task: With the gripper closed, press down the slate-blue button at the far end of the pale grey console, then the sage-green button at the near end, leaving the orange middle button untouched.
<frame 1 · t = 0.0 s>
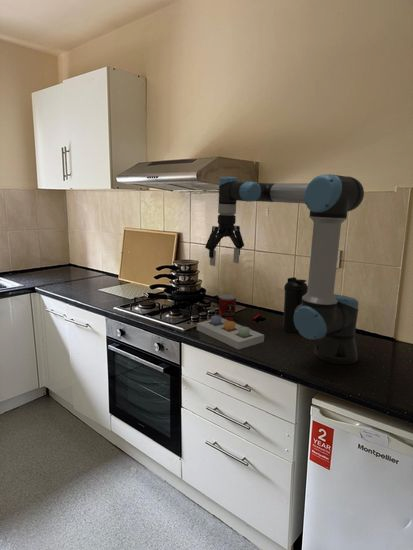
hand: (224, 264, 168), 28 cm above the worktop, fingers open, 13 cm apart
canned food: (226, 319, 183), on the worktop
water bottle: (292, 330, 172), on the worktop
button orange: (229, 326, 161), point 4 cm above the worktop, slide at 0.0 cm
console: (229, 335, 162), on the worktop
button sage: (243, 332, 154), point 4 cm above the worktop, slide at 0.0 cm
button slate: (216, 321, 167), point 4 cm above the worktop, slide at 0.0 cm
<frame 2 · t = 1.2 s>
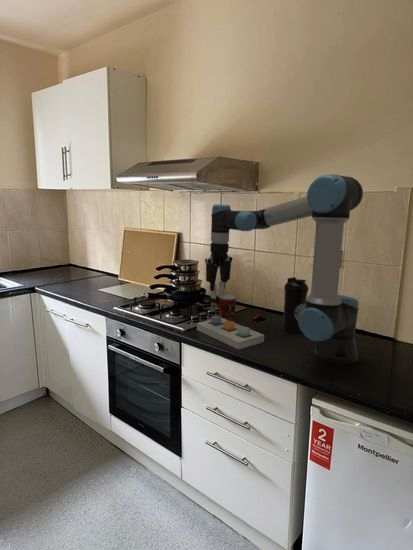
hand: (217, 297, 165), 15 cm above the worktop, fingers open, 4 cm apart
nothing on the worktop moved.
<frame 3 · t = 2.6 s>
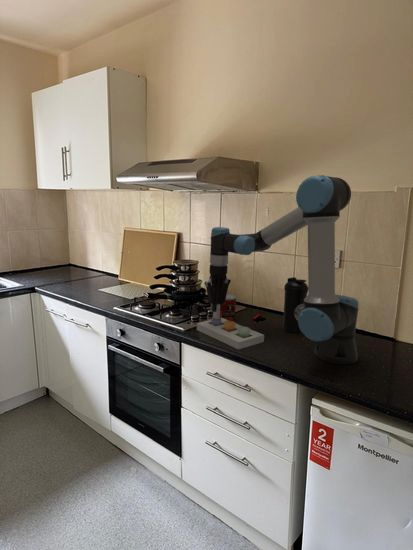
hand: (216, 318, 167), 5 cm above the worktop, fingers closed
button slate: (216, 323, 167), point 3 cm above the worktop, slide at 0.9 cm, touching gripper
everything else where it was.
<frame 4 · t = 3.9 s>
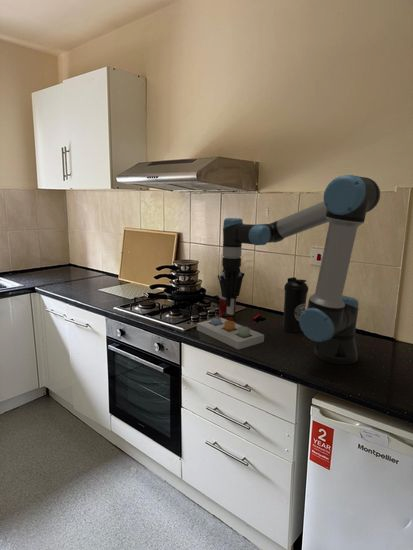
hand: (230, 313, 160), 9 cm above the worktop, fingers closed
button slate: (216, 323, 167), point 3 cm above the worktop, slide at 1.2 cm
everything else where it was.
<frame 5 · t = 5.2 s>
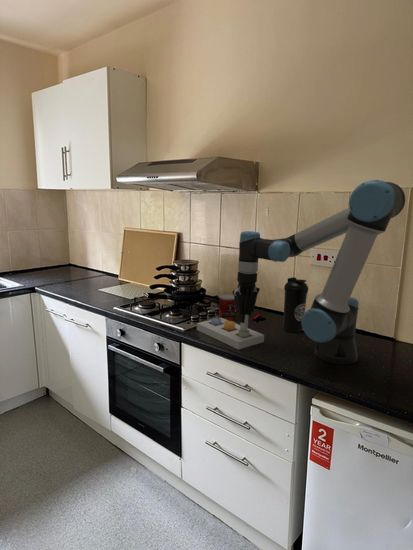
hand: (243, 329, 154), 5 cm above the worktop, fingers closed
button sage: (243, 334, 154), point 3 cm above the worktop, slide at 1.0 cm, touching gripper
everything else where it was.
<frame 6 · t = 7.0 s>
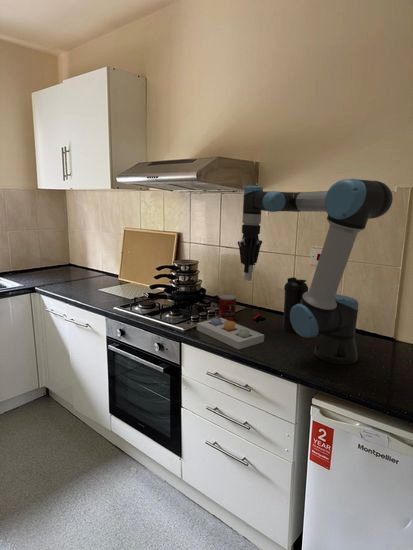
hand: (247, 279, 165), 22 cm above the worktop, fingers closed
button sage: (243, 335, 155), point 3 cm above the worktop, slide at 1.2 cm
everything else where it was.
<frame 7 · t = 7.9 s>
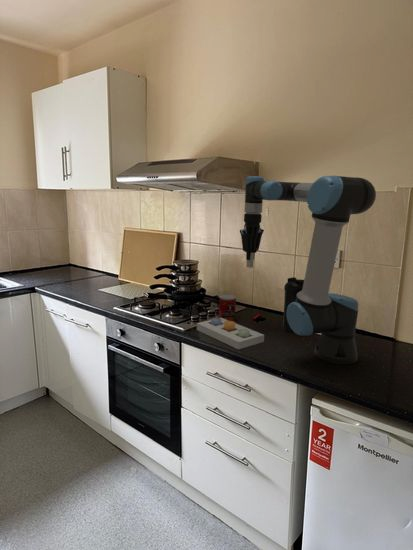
hand: (249, 267, 172), 26 cm above the worktop, fingers closed
nothing on the worktop moved.
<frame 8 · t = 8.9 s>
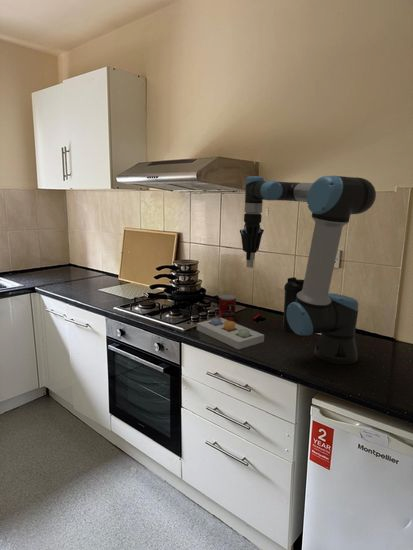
hand: (249, 267, 172), 26 cm above the worktop, fingers closed
nothing on the worktop moved.
at the end: button slate slide at 1.2 cm; button sage slide at 1.2 cm; button orange slide at 0.0 cm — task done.
